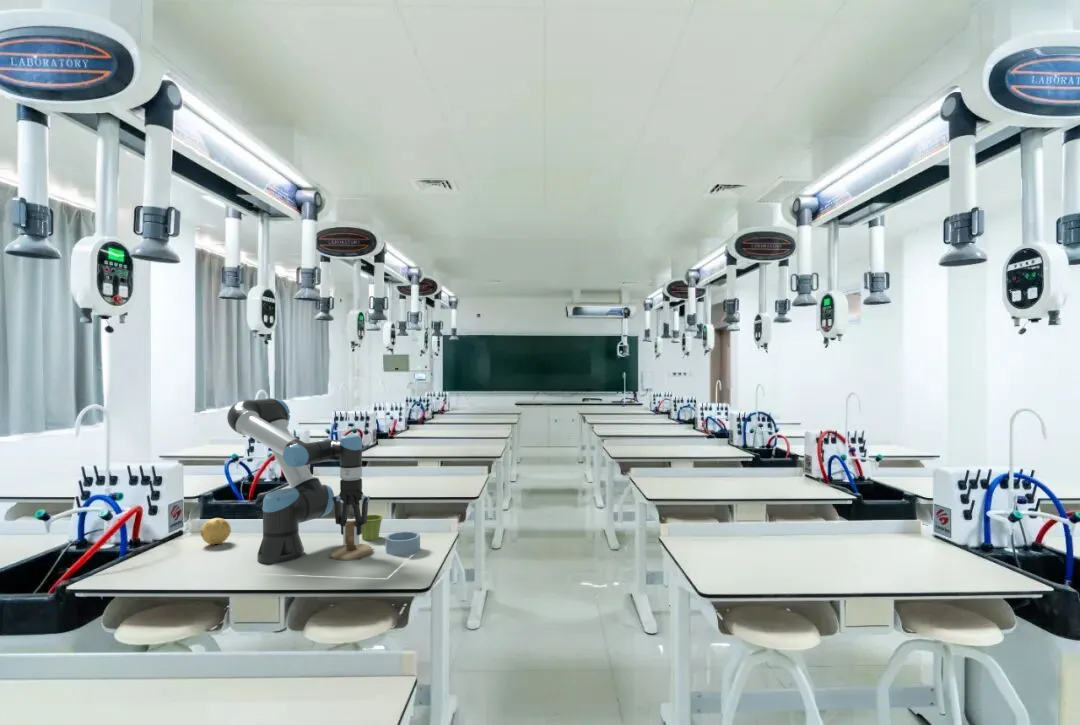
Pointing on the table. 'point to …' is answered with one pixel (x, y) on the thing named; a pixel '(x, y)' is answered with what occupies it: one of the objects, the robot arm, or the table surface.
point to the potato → (215, 531)
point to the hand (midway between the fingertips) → (351, 543)
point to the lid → (351, 546)
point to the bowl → (402, 543)
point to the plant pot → (371, 527)
